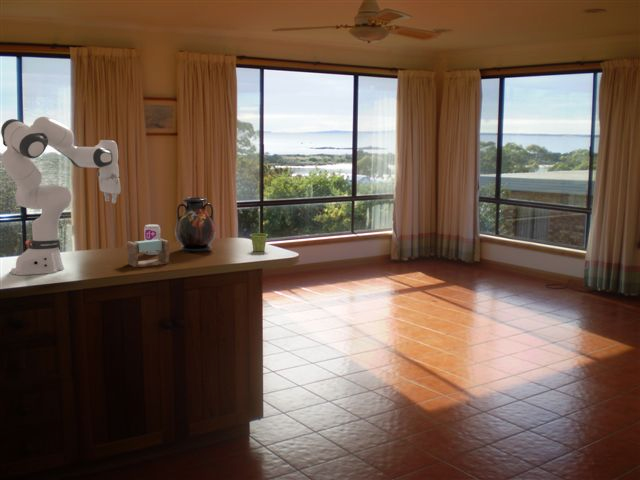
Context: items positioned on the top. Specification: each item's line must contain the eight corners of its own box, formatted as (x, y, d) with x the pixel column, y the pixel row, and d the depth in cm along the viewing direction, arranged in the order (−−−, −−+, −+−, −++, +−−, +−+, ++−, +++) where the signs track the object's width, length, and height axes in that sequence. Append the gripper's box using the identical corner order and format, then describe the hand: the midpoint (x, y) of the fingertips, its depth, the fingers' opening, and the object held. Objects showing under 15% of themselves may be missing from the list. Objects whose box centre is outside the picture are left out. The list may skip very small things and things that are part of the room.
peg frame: (134, 267, 326) (134, 244, 324) (128, 264, 333) (127, 241, 331) (169, 263, 335) (168, 241, 334) (161, 260, 343) (161, 238, 341)
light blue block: (161, 249, 335) (161, 240, 334) (139, 252, 327) (138, 243, 327) (156, 248, 339) (156, 239, 338) (134, 251, 331) (134, 241, 330)
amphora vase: (176, 254, 358) (174, 200, 354) (174, 247, 379) (173, 196, 374) (217, 253, 363) (217, 200, 359) (214, 246, 384) (213, 196, 379)
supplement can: (157, 255, 355) (156, 226, 353) (142, 254, 357) (141, 226, 355) (163, 252, 363) (162, 224, 361) (149, 252, 365) (148, 223, 363)
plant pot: (271, 250, 373) (271, 234, 372) (260, 252, 366) (260, 236, 364) (257, 248, 378) (257, 232, 377) (246, 251, 371) (246, 235, 369)
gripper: (123, 174, 326) (124, 203, 329) (108, 172, 343) (110, 199, 345) (110, 175, 323) (111, 204, 325) (96, 172, 339) (97, 200, 341)
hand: (110, 202), depth 335 cm, fingers open, 8 cm apart
